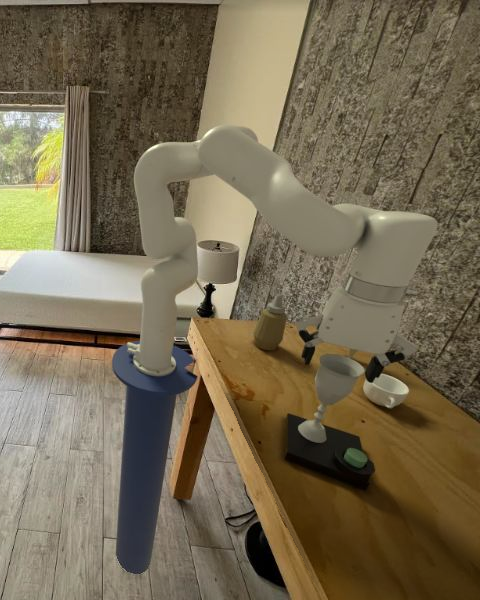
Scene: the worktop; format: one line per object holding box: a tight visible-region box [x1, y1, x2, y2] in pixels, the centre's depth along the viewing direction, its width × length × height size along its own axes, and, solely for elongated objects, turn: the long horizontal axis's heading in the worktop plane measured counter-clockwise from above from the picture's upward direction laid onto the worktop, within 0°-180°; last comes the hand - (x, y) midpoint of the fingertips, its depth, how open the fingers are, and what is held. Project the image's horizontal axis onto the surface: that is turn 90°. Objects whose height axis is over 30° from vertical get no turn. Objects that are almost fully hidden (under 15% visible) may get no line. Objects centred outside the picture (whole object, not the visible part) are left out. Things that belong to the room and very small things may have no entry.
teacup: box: [362, 373, 410, 409], centre depth 77 cm, size 10×8×5 cm
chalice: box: [298, 353, 365, 443], centre depth 64 cm, size 7×7×18 cm
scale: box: [283, 412, 376, 491], centre depth 65 cm, size 13×12×4 cm
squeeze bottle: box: [253, 293, 288, 351], centre depth 97 cm, size 8×8×18 cm
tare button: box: [344, 448, 368, 468], centre depth 59 cm, size 3×3×2 cm
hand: (336, 369), depth 61 cm, fingers open, 9 cm apart
